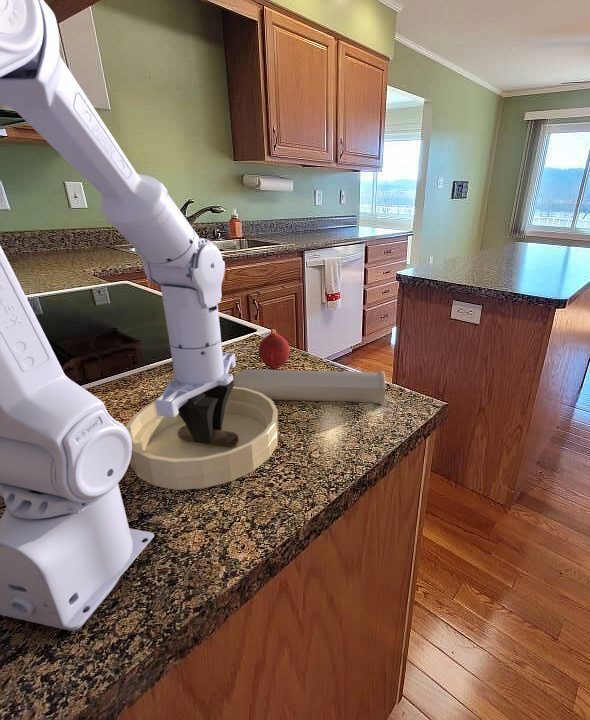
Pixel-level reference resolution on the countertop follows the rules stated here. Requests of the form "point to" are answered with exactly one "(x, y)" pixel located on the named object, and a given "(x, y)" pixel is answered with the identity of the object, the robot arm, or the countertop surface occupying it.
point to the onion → (274, 350)
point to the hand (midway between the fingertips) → (207, 436)
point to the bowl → (204, 461)
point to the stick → (217, 438)
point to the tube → (314, 385)
